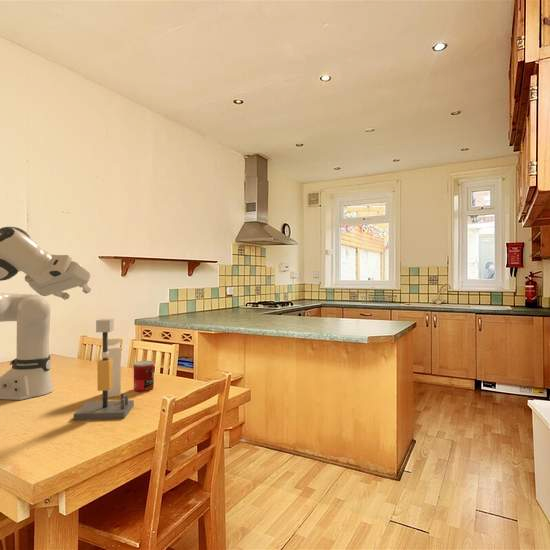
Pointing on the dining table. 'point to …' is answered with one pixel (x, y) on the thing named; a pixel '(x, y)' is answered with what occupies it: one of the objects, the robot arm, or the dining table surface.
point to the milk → (115, 366)
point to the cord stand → (105, 407)
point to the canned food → (143, 376)
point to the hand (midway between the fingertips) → (78, 294)
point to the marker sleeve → (105, 374)
